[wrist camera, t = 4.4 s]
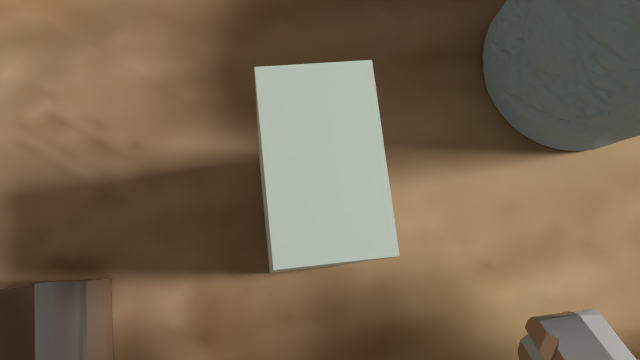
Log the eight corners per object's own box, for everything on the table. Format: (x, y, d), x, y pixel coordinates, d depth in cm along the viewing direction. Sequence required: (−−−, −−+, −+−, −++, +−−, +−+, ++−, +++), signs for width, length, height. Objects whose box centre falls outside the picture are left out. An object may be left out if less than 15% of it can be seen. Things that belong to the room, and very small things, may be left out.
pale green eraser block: (269, 273, 21) (273, 270, 11) (259, 159, 22) (254, 66, 12) (338, 265, 21) (399, 256, 12) (325, 154, 22) (372, 59, 13)
